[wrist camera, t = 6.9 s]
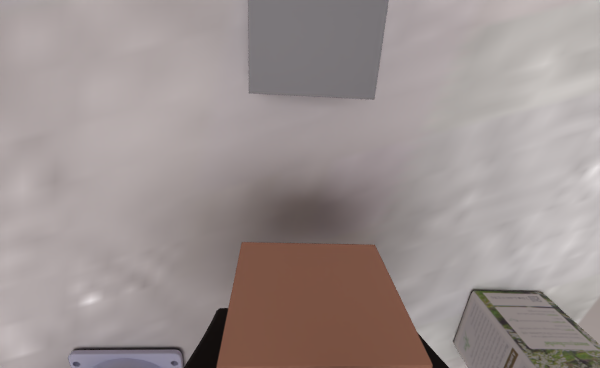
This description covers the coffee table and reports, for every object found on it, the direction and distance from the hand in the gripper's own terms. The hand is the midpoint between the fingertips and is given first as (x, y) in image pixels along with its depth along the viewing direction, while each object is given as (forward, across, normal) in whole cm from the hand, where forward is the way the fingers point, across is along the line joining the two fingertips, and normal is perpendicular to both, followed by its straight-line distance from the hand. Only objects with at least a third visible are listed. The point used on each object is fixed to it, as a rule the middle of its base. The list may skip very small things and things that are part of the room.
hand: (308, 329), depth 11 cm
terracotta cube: (+2, 0, 0) cm, 2 cm away
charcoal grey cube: (+10, 0, -10) cm, 14 cm away
